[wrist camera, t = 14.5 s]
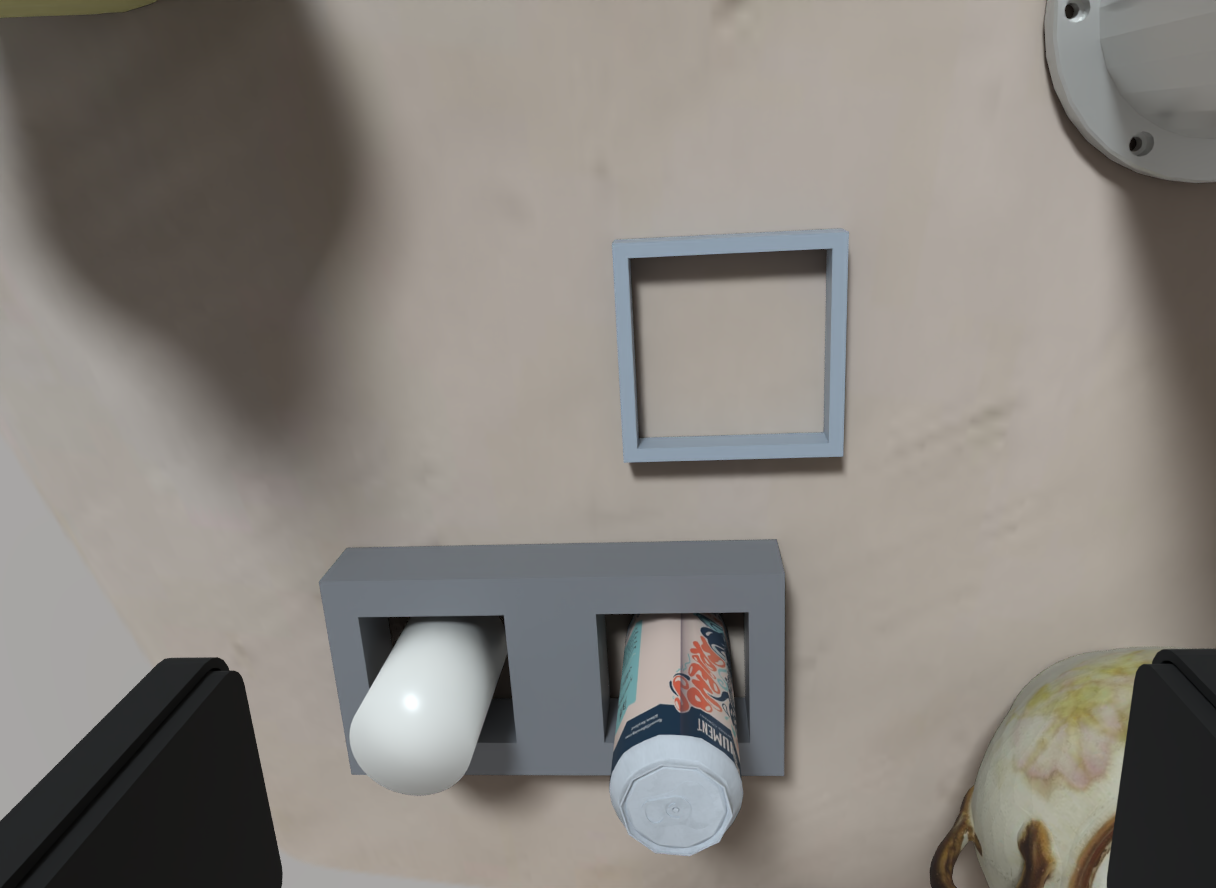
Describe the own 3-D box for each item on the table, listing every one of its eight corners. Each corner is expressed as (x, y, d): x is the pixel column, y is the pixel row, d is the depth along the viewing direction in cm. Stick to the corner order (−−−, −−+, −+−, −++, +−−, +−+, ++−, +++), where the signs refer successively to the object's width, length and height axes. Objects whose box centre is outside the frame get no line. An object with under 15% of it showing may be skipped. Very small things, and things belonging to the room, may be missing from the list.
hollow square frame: (842, 228, 37) (848, 231, 36) (837, 445, 40) (843, 456, 38) (614, 239, 38) (612, 243, 36) (625, 451, 41) (623, 462, 39)
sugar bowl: (1336, 558, 40) (1700, 791, 26) (1315, 839, 44) (1615, 1169, 30) (872, 610, 42) (968, 848, 28) (896, 871, 47) (990, 1191, 32)
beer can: (738, 668, 44) (758, 854, 32) (641, 687, 44) (628, 876, 33) (714, 579, 42) (726, 741, 31) (615, 601, 43) (591, 766, 32)
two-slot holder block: (776, 539, 41) (797, 628, 34) (776, 728, 44) (795, 849, 37) (346, 547, 43) (275, 634, 36) (375, 729, 46) (315, 844, 39)
